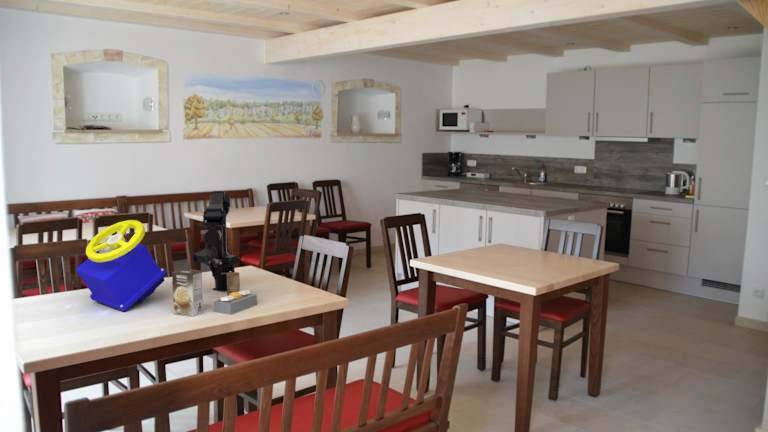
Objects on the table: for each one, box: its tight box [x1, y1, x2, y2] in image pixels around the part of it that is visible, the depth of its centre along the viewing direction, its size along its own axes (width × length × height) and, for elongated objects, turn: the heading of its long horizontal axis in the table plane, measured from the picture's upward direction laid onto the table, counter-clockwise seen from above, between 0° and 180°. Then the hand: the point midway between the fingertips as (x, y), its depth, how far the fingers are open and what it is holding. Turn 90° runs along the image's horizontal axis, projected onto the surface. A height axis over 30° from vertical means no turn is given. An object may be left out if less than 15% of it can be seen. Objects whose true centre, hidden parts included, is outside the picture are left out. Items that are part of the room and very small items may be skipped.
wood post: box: [226, 271, 241, 296], centre depth 256 cm, size 5×5×10 cm
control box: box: [75, 219, 168, 313], centre depth 244 cm, size 26×27×30 cm
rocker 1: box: [220, 295, 234, 301], centre depth 237 cm, size 4×3×1 cm
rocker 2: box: [237, 289, 251, 295], centre depth 245 cm, size 4×3×1 cm
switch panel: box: [213, 293, 258, 315], centre depth 242 cm, size 8×15×4 cm, turn 152°
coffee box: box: [171, 268, 204, 318], centre depth 234 cm, size 9×6×16 cm
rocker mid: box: [229, 292, 242, 299], centre depth 241 cm, size 4×3×1 cm
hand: (216, 280), depth 245 cm, fingers closed
